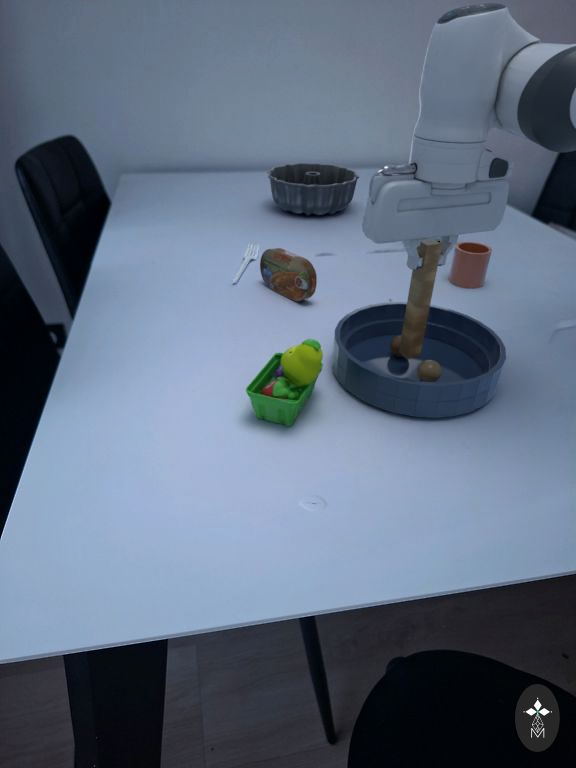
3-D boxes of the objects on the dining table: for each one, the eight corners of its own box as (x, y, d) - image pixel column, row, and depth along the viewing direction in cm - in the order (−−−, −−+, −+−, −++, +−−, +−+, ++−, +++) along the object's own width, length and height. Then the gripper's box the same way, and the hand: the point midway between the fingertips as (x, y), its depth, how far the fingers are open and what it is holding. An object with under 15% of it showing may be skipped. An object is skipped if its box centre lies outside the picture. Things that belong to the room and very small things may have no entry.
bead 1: (403, 348, 89) (406, 329, 87) (414, 359, 87) (418, 340, 85) (384, 352, 88) (387, 333, 86) (395, 363, 86) (399, 343, 84)
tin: (258, 283, 112) (258, 244, 107) (270, 279, 114) (270, 241, 109) (306, 308, 103) (308, 266, 98) (318, 303, 104) (320, 262, 100)
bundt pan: (329, 227, 144) (332, 189, 138) (249, 210, 155) (249, 174, 149) (370, 205, 162) (373, 170, 157) (296, 191, 174) (297, 159, 168)
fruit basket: (275, 379, 82) (276, 313, 76) (330, 392, 79) (336, 325, 73) (244, 421, 73) (242, 350, 67) (304, 437, 71) (308, 365, 64)
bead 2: (430, 373, 83) (434, 353, 81) (444, 385, 81) (448, 365, 79) (410, 377, 82) (414, 357, 80) (423, 389, 79) (427, 369, 77)
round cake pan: (433, 323, 99) (439, 293, 95) (532, 399, 79) (544, 365, 76) (307, 346, 91) (308, 314, 87) (382, 437, 71) (388, 401, 68)
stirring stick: (411, 349, 84) (432, 238, 74) (420, 357, 82) (442, 243, 72) (398, 352, 83) (417, 239, 73) (406, 359, 81) (427, 245, 71)
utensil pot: (468, 275, 118) (476, 240, 114) (490, 288, 113) (499, 251, 108) (441, 279, 116) (448, 244, 111) (462, 292, 110) (470, 255, 106)
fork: (226, 284, 111) (226, 275, 110) (247, 251, 128) (247, 243, 127) (241, 285, 111) (241, 277, 110) (260, 252, 127) (260, 244, 126)
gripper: (385, 172, 61) (371, 284, 69) (525, 162, 68) (498, 266, 75) (359, 160, 66) (349, 266, 74) (492, 153, 72) (470, 251, 80)
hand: (425, 266), depth 75 cm, fingers closed on stirring stick, 2 cm apart
